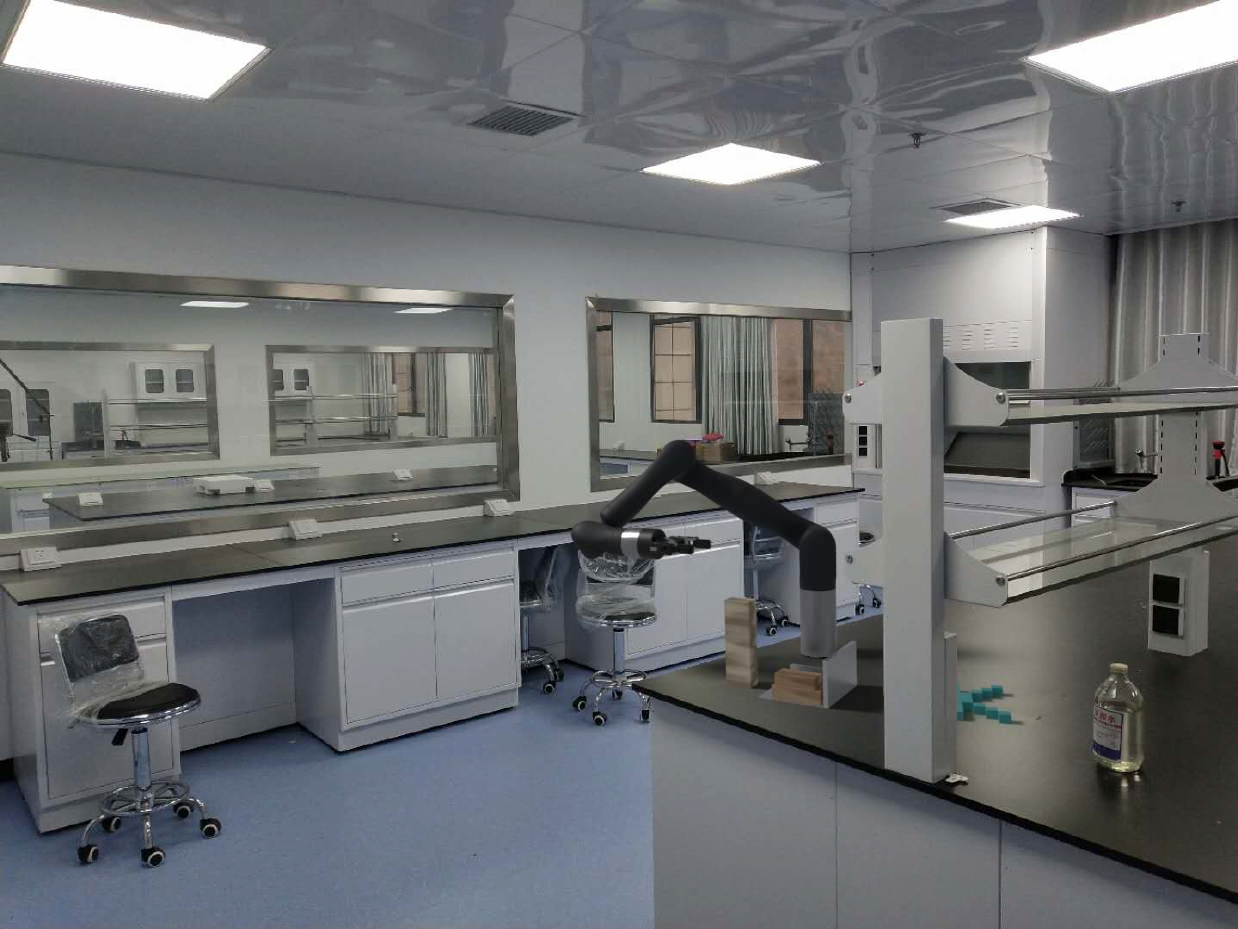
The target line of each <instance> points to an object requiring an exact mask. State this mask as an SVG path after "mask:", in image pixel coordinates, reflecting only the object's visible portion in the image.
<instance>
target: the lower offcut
mask: <svg viewBox="0 0 1238 929" xmlns="http://www.w3.org/2000/svg"><path fill="white" fill-rule="evenodd" d="M771 688H772V696H774V697H780V698H786V699H793V700H799V701H805V702H812V703H818V704H821V703H822V702H823V685H821V686H820V687H818V688H817V689H815V690H814V691H813V690H806V689H799V688H793V687H786V686H779V685H775V682H774V683H772V684H771Z"/></svg>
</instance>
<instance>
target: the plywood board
mask: <svg viewBox="0 0 1238 929" xmlns="http://www.w3.org/2000/svg"><path fill="white" fill-rule="evenodd" d="M723 605H724V606H723V607H724V610H723V611H724V644H725V679H726V680H725V682H726V683H725V684H726V686H732V687H739V688H743V689H750V690H751V689H752V688H754V687H755V686H757V685H758V683H759V675H758V672H759V671H758V668H759V667H758V635H757V634H758V631H757V630H758V629H757V626H758V625H757V599H756V598H748V597H737V596H731V597H728V598H725V599H724V600H723Z"/></svg>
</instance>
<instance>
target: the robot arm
mask: <svg viewBox="0 0 1238 929" xmlns="http://www.w3.org/2000/svg"><path fill="white" fill-rule="evenodd" d="M696 457H697V456H696V451H695V448H694V446H693V445H692V444H691V443H690V442H688V441H687V440H684V439H674V440H671V441H669V442H667V444H665V445H664V447H663V448H662V450H660V453H659V454H658V455H657V457H656V458H654V460H653V461H652V463H651V464H650V465H648V467H647V468H646V469H645V470H644V471H643V472H642V473H641V474H640V475H639V476H638V477H637V478H636V479H635V480H634V481H632V482H631V483H630V484H629V485H628V486H627V487H626V488H624V489H623V490H622V491H620V493H618V495H617V496H615V497H614V498H613V499H612V500H611V501H610V502H609V503H607V505H605V506H604V507H603V508H602V509H601V510H600V512H599V518H600V521H601V522H599V521H595V520H590V519H589V520H581V521H580V522H578V523H576V524H574V525H573V527H572V528H571V531H570V538H571V540H572V543H573V544H574V545H575V546H576V548H577V550H579V552H580V553H581V554H582V556H583V557H584V558H585V559H587V560H595V559H597V558H600V557H602V556H603V555H604V554H605V553H608V554H609V555H611V556H616V557H618V556H619V557H629V558H633V559H641V560H642V559H643V560H644V559H645V560H654V561H655V560H656V561H658V560H661V559H662V558H663V557H664V556H669V557H670V556H674V555H676V556H677V555H680V554H681V555H694V554H695V552H694V551H695V550H696V549H701V550H710V549H711V548H712V540H710V539H706V538H704V539H703V538H700V537H699V536H697V535H696V536H689V535H687V536H686V535H677V536H676V535H669V536H668V537H667V535H666V533H665V532H664V531H665V530H663V529H662V528H652V527H649V528H648V527H631V528H630V527H625V526H626V525H627V524H628V523H629V522H631V521H632V520H633V519H634V518H635V517H636V516H637V515H638V514H639V513H640V512H641V511H642V510H643V508H645V507H646V505H648V503H649V502H650V501H651V500H652V498H653V497H654V496H655V495H656V494H658V492H659V491H660V490H661V489H663V487H665V486H666V485H667V484H668V483H670V482H671V481H674V482H677V483H679V484H681V485H683V486H685V487H688V488H690V489H692V490H694V491H695V492H697V493H699V494H701V495H702V496H704V497H705V498H707V499H709V500H710V501H711V502H712V503H715V504H716V505H717V506H719V507H721V508H722V509H724V510H726V511H727V512H728V513H730V514H732V515H733V516H735V517H737V519H740V520H742V521H743V522H746V523H748V524H749V525H752V526H753V527H755V528H759V529H761V530H764V531H767V532H769V533H772V534H774V535H776V536H778V537H780V538H782V539H783V540H785V541H786V542H788V543H789V544H791V545H792V546H793V547H794V548H796V550H798V553H799V554H798V556H799V557H798V559H799V560H798V561H799V564H798V566H799V578H798V579H799V580H798V581H799V583H798V584H799V614H800V615H799V617H800V618H799V619H800V624H799V625H800V654H801V655H803V656H805V657H808V656H809V658H815V659H817V658H818V659H820V657H821V659H823V658H822V657H828V656H830V655H831V654H833V653H834V652H836V651H837V650H838V631H837V630H838V629H837V628H838V627H837V626H838V623H837V622H838V621H837V620H838V619H837V614H838V613H837V576H838V575H837V544H836V543H837V542H836V540H835V537H834V535H833V534H832V532H831V531H830V530H829V529H828V527H825V526H823V525H820V524H818V523H816V522H814V521H811V520H809V519H808V518H805V517H803V516H801V515H799V514H797V513H795V512H793V511H792V510H790V509H788V508H787V507H786V506H784V505H783V504H782V503H781V502H779V501H778V499H777V500H776V499H775V498H774V497H772V496H771V495H769V494H768V493H766V492H765V491H763V490H762V489H760V488H759V487H757V486H755V485H753V484H751V483H750V482H748V481H746V480H744V479H742V478H739V477H738V476H737V477H736V476H733V475H730V474H727V473H724V472H720V471H716V470H714V469H713V468H710V466H708V465H706V464H704V463H703V462H702V461H700V460H698V459H697V458H696ZM691 541H692V543H691Z"/></svg>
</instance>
